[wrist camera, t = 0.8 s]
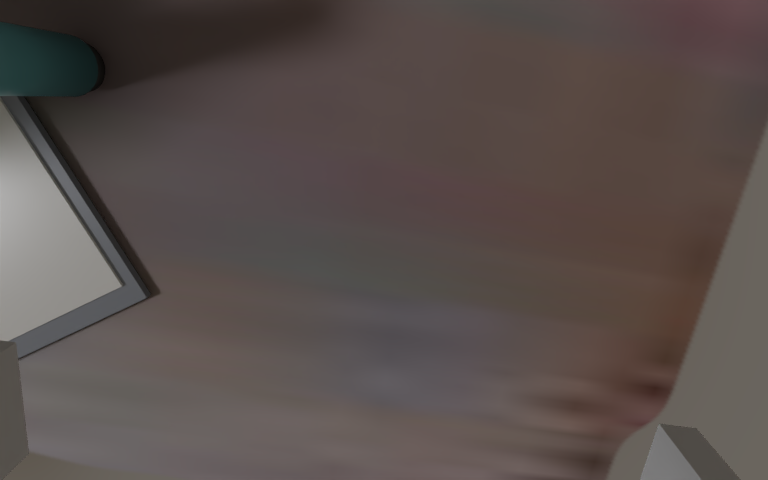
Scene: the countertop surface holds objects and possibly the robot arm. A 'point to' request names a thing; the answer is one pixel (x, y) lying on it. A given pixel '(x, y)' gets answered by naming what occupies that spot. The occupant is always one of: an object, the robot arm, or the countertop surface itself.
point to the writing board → (52, 241)
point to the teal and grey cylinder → (46, 63)
